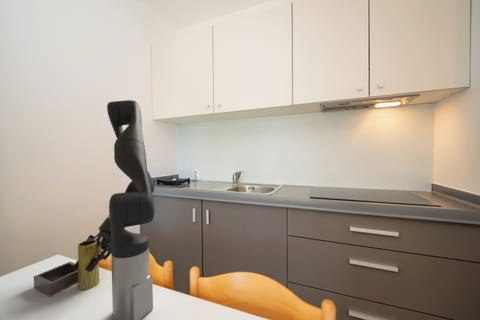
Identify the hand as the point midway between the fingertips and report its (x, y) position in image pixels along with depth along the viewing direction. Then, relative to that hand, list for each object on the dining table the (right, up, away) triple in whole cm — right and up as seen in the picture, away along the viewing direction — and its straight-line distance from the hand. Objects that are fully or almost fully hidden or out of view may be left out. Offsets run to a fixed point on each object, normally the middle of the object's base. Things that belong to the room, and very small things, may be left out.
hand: (82, 268), depth 68 cm
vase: (+1, -6, +2) cm, 7 cm away
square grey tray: (-9, -6, +2) cm, 12 cm away
